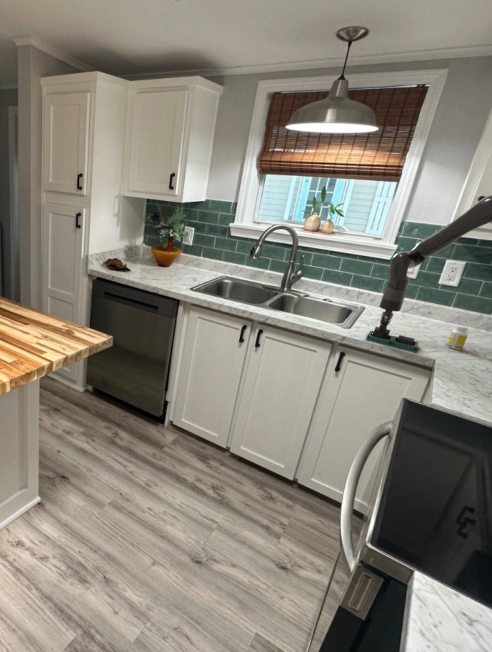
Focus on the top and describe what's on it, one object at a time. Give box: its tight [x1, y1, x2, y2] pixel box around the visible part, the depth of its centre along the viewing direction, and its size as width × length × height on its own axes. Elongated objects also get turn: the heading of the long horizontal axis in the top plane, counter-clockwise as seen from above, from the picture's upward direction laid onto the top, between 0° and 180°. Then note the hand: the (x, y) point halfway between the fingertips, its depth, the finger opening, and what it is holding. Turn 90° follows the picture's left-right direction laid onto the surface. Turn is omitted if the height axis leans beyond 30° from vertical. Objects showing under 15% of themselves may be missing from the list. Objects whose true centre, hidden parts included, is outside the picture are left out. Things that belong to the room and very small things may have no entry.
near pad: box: [397, 334, 415, 346], centre depth 174 cm, size 6×6×3 cm
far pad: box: [373, 326, 391, 339], centre depth 179 cm, size 6×6×3 cm
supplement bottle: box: [446, 324, 469, 351], centre depth 177 cm, size 5×5×10 cm
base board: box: [365, 330, 419, 354], centre depth 177 cm, size 18×12×2 cm, turn 51°
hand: (380, 335), depth 179 cm, fingers closed on far pad, 5 cm apart
